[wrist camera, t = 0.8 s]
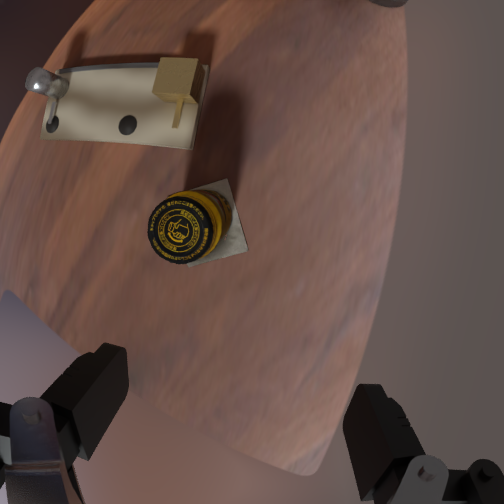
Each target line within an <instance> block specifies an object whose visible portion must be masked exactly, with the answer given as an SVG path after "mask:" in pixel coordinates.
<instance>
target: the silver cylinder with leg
mask: <svg viewBox="0 0 504 504" xmlns="http://www.w3.org/2000/svg"><path fill="white" fill-rule="evenodd" d="M25 87H26V89H27V90H29V91H33V92H36V93H39V94H42V95H45V96H48V97H51V98H54V99H61V98H62V97H64V96H65V95H66V93H67V91H68V89H69V81H68V80H67V79H65V78H63V77H61V76H59V75H56V74H54V73H52V72H49V71H47V70H45V69H43V68H40V67H36V68H34V69H33V70H32V71H31V72H30V73H29V74H28V76H27V78H26V82H25ZM56 104H57V102H52V106H51V110H50V115H49V120H48V124H52V122H53V117H54V113H55V108H56Z"/></svg>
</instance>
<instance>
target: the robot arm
mask: <svg viewBox="0 0 504 504" xmlns="http://www.w3.org/2000/svg"><path fill="white" fill-rule="evenodd" d="M369 1H371V2H373V3H376V4H378V5H381V6H385V7H400V6H403V5H404V4H406V2H407V1H408V0H369ZM128 388H129V378H128V365H127V352H126V349H125V348H123V347H120V346H116V345H113V344H109V343H103V344H102V345H101V346H100V347H99V348H98V349H97V350H96V352H95V353H91V352H88V353H86V354H84V355H82V356H80V357H78V358H77V359H76V360H75V361H74V362H73V363H72V364H71V365H70V367H68V368H67V369H66V370H65V371H64V373H63V374H61V375H60V376H59V377H58V378H57V379H56V381H55V382H54V383H53V384H52V385H51V386H50V387H49V388H48V389H47V390H46V391H45V392H44V393H43V394H42V396H41V397H40V398H36V397H26V398H23V399H20V400H18V401H17V402H15V403H14V404H13V405H11V404H7V403H2V402H0V489H1V487H2V485H3V484H4V482H6V490H7V498H8V504H85V501H84V498H83V495H82V492H81V488H80V485H79V482H78V479H77V475H76V472H75V468H74V465H73V462H74V461H75V459H76V457H77V456H78V457H80V458H82V459H85V460H87V461H89V459H90V458H91V456H92V454H93V452H94V451H95V449H96V447H97V445H98V444H99V442H100V440H101V439H102V437H103V435H104V433H105V432H106V430H107V428H108V427H109V425H110V423H111V422H112V420H113V418H114V416H115V415H116V413H117V411H118V410H119V408H120V406H121V405H122V403H123V401H124V400H125V398H126V396H127V392H128ZM343 432H344V436H345V440H346V444H347V448H348V451H349V455H350V459H351V463H352V467H353V471H354V475H355V479H356V483H357V487H358V491H359V495H360V499H361V501H369V500H374V503H375V504H504V475H503V473H502V471H501V470H500V468H499V467H498V466H497V465H496V464H495V463H494V462H492V461H490V460H487V459H479V460H477V461H475V462H474V463H473V464H472V465H471V466H470V467H469V468H468V470H449V469H448V468H447V466H446V465H445V464H444V463H443V462H442V461H441V460H440V459H438V458H436V457H434V456H431V455H426V454H425V452H424V450H423V448H422V446H421V444H420V442H419V440H418V438H417V436H416V434H415V432H414V430H413V428H412V427H410V422H409V421H408V419H406V415H405V413H404V411H403V409H402V407H401V406H400V405H399V404H398V403H397V402H396V401H395V400H393V399H392V398H388V397H387V395H386V393H385V391H384V390H383V388H382V386H381V385H380V384H359V385H358V386H357V388H356V390H355V392H354V395H353V397H352V399H351V402H350V404H349V406H348V409H347V411H346V414H345V416H344V420H343Z"/></svg>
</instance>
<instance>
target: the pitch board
mask: <svg viewBox="0 0 504 504" xmlns="http://www.w3.org/2000/svg"><path fill="white" fill-rule="evenodd" d="M201 65H202V64H201ZM158 66H159V63H120V64H104V65H92V66H82V67H73V68H66V69H59V70H56V72H55V74H56V75H59V76H61V77H63V78H65V79H67V80H68V81H69V89H68V91H67V93H66V95H65V96H64V97H62V98H61V99H54V98H51V97H49V98H48V102H47V106H46V111H45V115H44V120H43V125H42V130H41V136H40V139H43V140H75V141H100V142H116V143H130V144H142V145H153V146H163V147H173V148H181V149H190V150H193V147H194V142H195V137H196V132H197V126H198V122H199V117H200V112H201V107H202V102H203V98H204V93H205V89H206V84H207V80H208V76H209V71H210V68H209V66H208V65H202V66H203V68H204V70H205V76H204V81H203V85H202V89H201V94H200V98H199V103H198V104H188V103H183V106H182V110H181V115H180V120H179V125H178V129H176V128H172V124H173V119H174V114H175V110H176V105H177V103H175V102H164V101H162V100H161V99H160V98H158V97H157V96H156V95H154V94H153V93H152V89H153V85H154V81H155V77H156V73H157V69H158ZM52 102H57V104H56V108H55V113H54V117H53V122H52V124H48V120H49V115H50V110H51V106H52Z"/></svg>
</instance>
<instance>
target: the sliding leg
mask: <svg viewBox="0 0 504 504" xmlns="http://www.w3.org/2000/svg"><path fill="white" fill-rule="evenodd" d="M204 76H205V70H204V68H203V66H202V65H201V63H200V61H199V59H196V58H166V57H161V58H160V62H159V66H158V69H157V73H156V77H155V81H154V85H153V89H152V93H153V94H154V95H156V96H157V97H158V98H160V99H161V100H162V101H164V102H175V103H177V105H176V110H175V114H174V119H173V124H172V128H176V129H178V125H179V120H180V115H181V110H182V106H183V103H188V104H198V103H199V98H200V94H201V89H202V85H203V81H204Z"/></svg>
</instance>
